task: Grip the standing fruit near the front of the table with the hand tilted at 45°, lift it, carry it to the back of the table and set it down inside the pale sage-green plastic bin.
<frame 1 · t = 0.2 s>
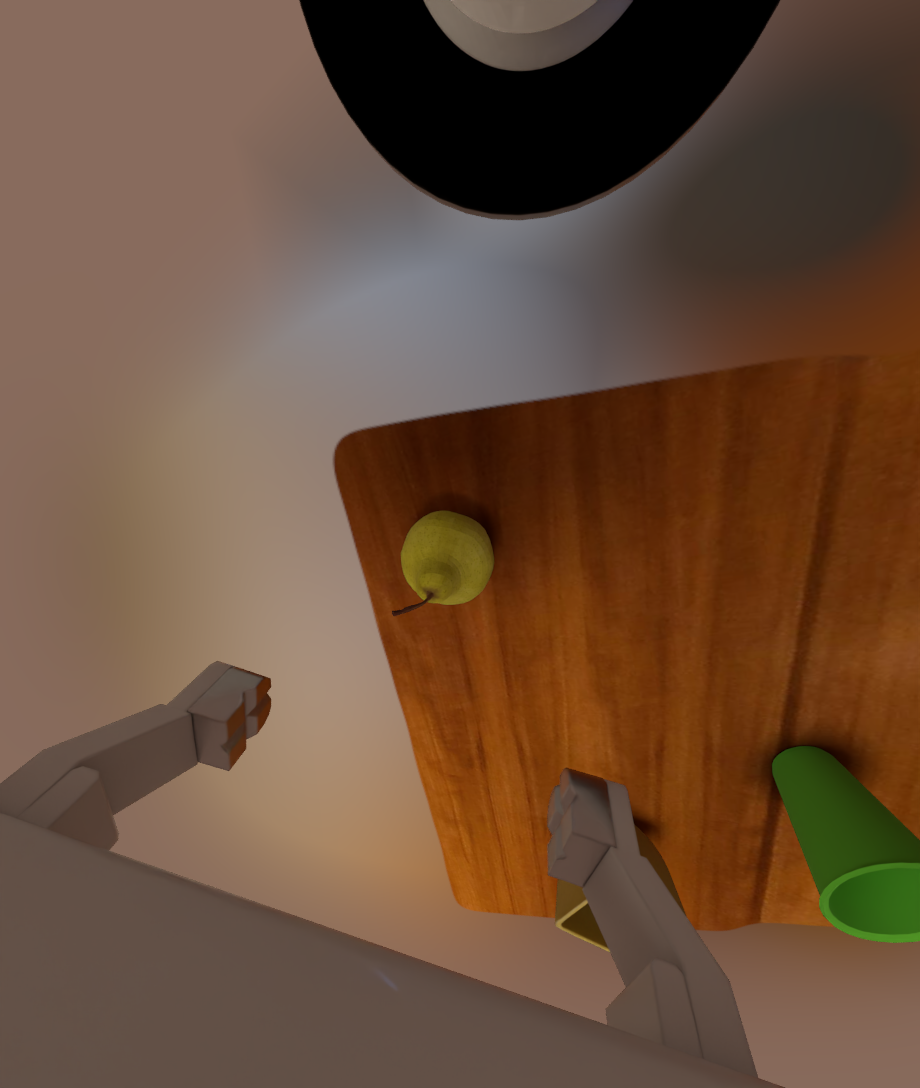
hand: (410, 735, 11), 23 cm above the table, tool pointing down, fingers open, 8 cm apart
flower pot: (603, 824, 46), on the table
fruit: (455, 538, 34), on the table
cup: (800, 762, 38), on the table
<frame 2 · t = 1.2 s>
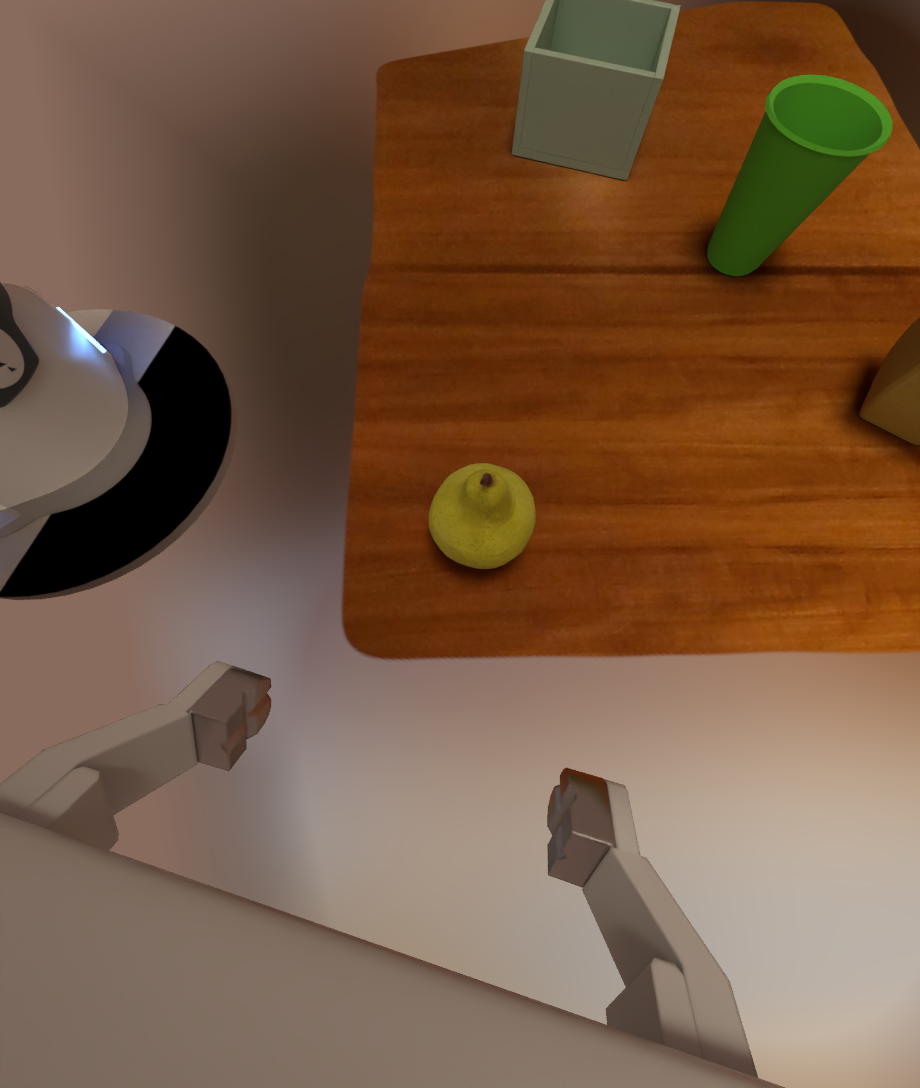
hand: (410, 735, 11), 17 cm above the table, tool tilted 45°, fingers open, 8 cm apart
bin: (580, 132, 46), on the table
flower pot: (890, 414, 35), on the table
fruit: (478, 535, 31), on the table
cup: (730, 259, 41), on the table
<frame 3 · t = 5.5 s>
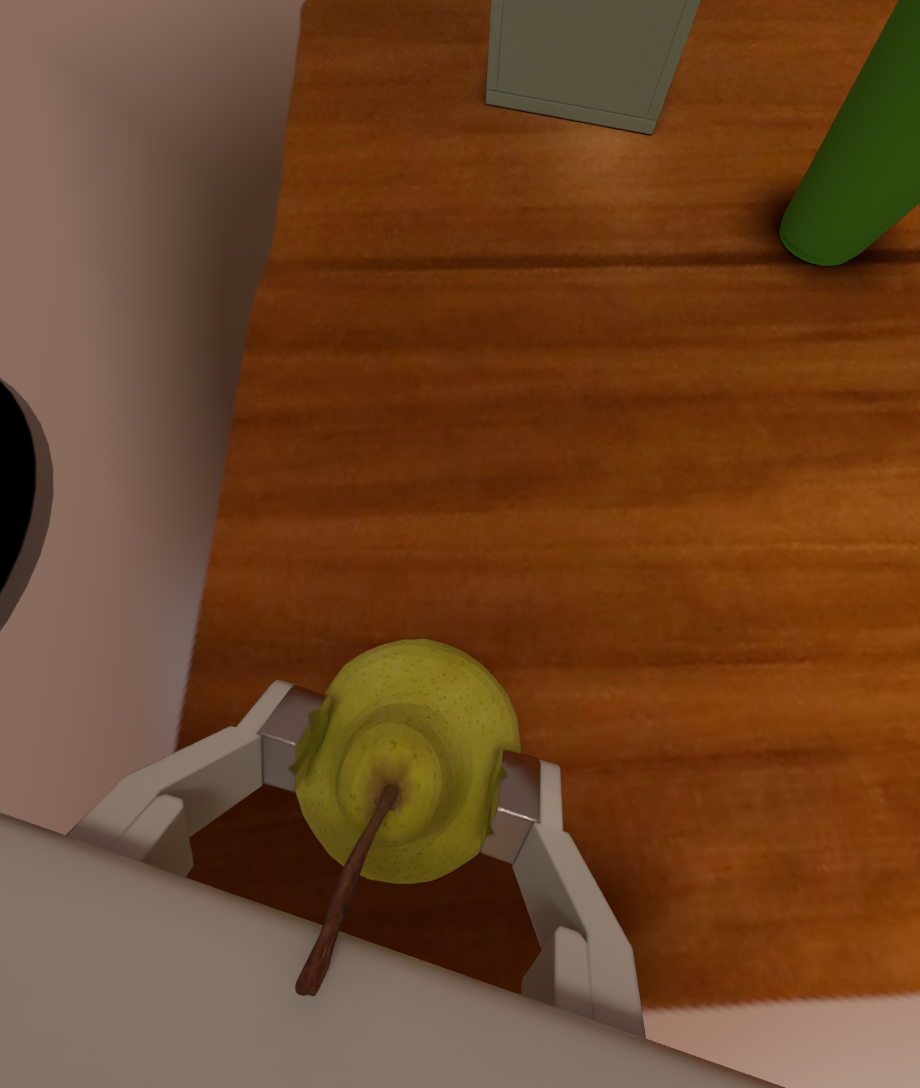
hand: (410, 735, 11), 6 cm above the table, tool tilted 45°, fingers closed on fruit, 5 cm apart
bin: (582, 73, 33), on the table
fruit: (420, 733, 17), on the table, touching gripper
cup: (814, 242, 27), on the table
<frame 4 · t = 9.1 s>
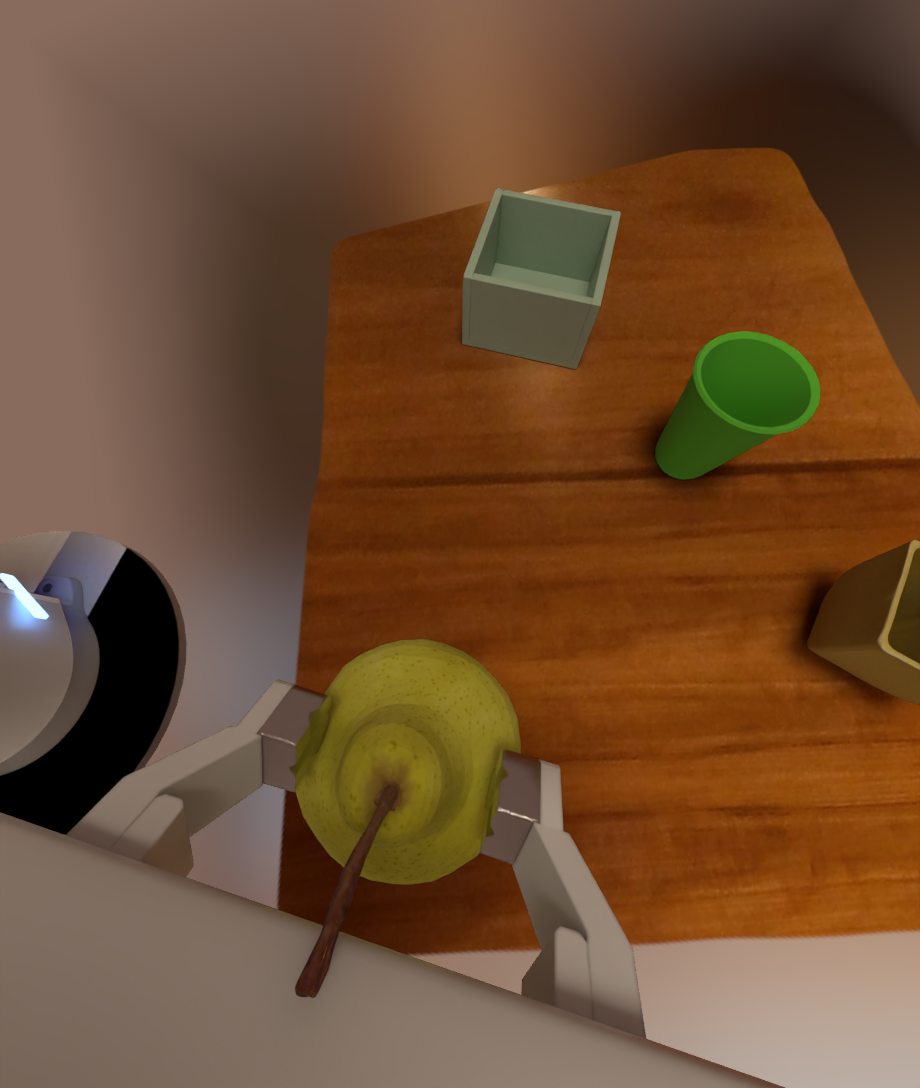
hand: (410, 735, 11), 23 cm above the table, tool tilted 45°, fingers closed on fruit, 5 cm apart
bin: (530, 313, 46), on the table
flower pot: (839, 639, 35), on the table
fruit: (420, 734, 17), point 17 cm above the table, touching gripper
cup: (678, 458, 41), on the table
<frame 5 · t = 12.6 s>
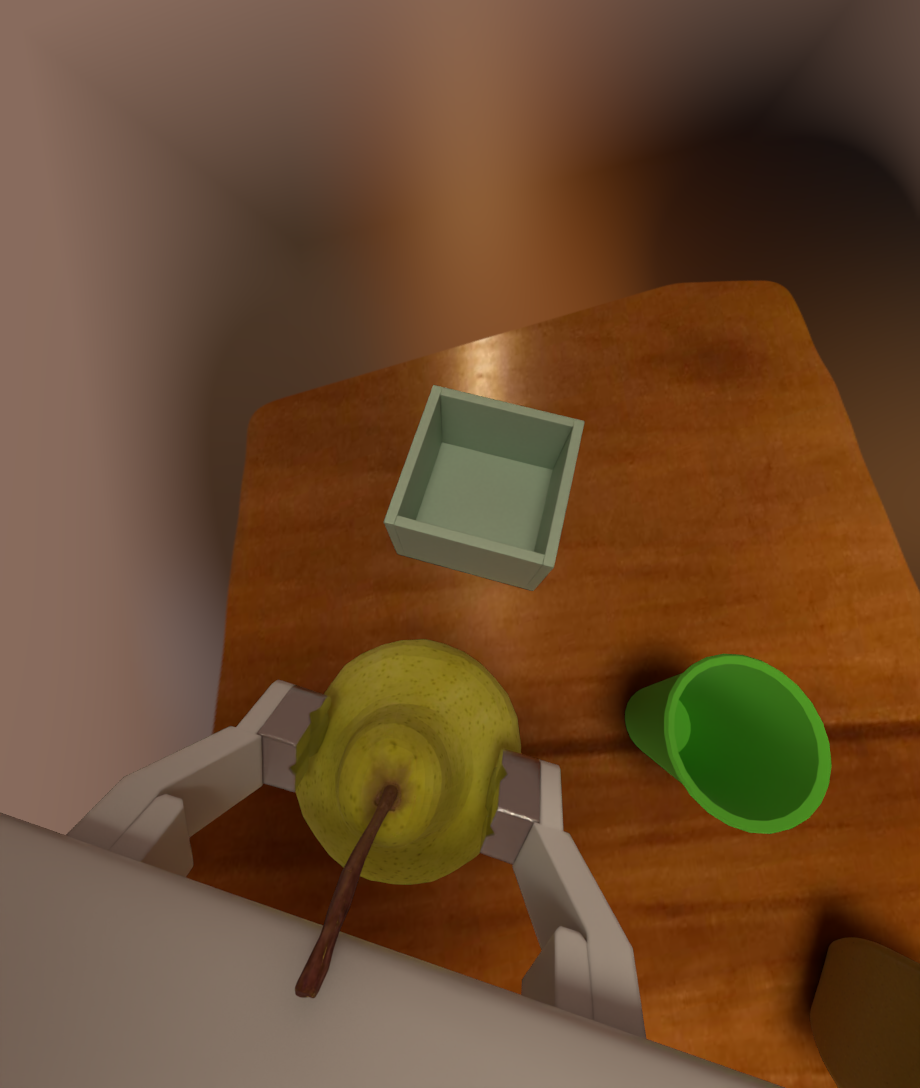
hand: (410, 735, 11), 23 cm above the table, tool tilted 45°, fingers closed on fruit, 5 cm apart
bin: (482, 509, 39), on the table
flower pot: (851, 1002, 28), on the table
fruit: (420, 734, 17), point 17 cm above the table, touching gripper
cup: (654, 720, 33), on the table
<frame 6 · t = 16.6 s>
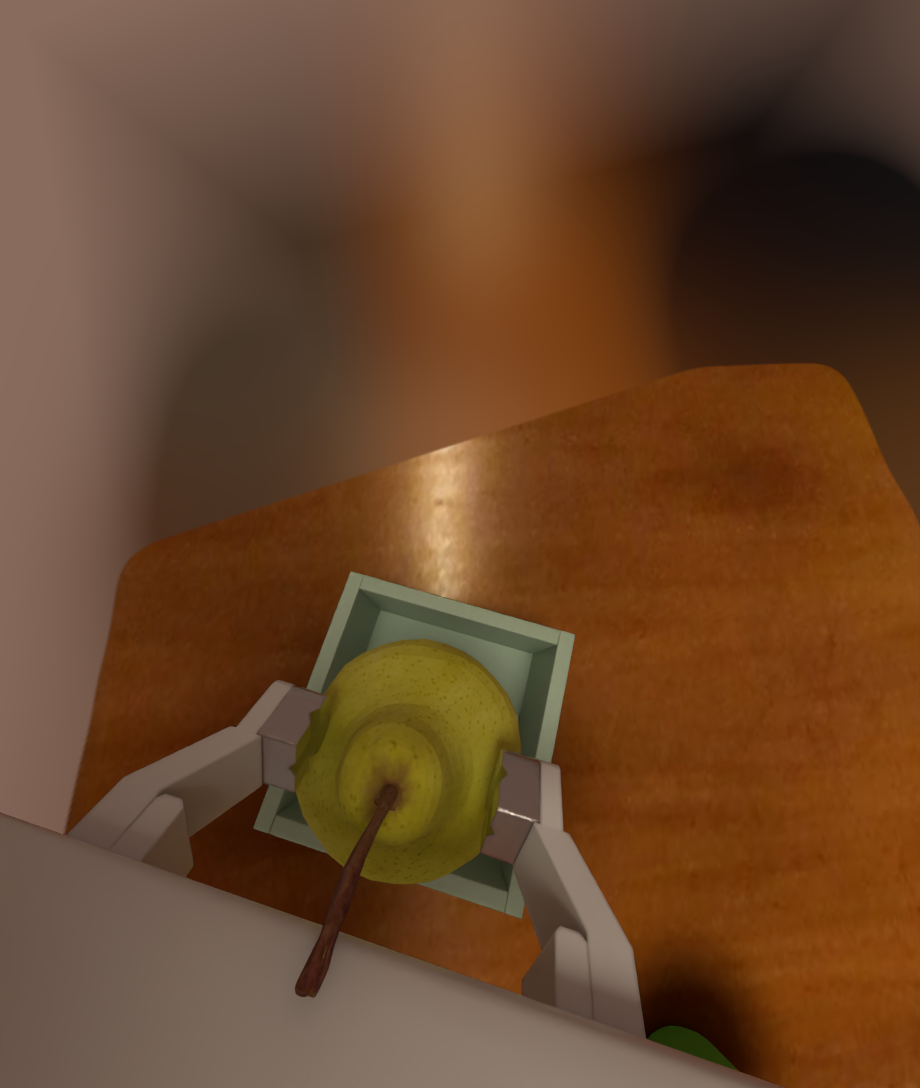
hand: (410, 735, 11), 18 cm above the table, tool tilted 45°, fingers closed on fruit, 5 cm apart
bin: (433, 713, 28), on the table
fruit: (421, 733, 17), point 11 cm above the table, touching gripper
cup: (678, 1082, 22), on the table
when the fingers open (7 cm above the table, at t = 20.0 s): fruit stays where it is, resting on bin.
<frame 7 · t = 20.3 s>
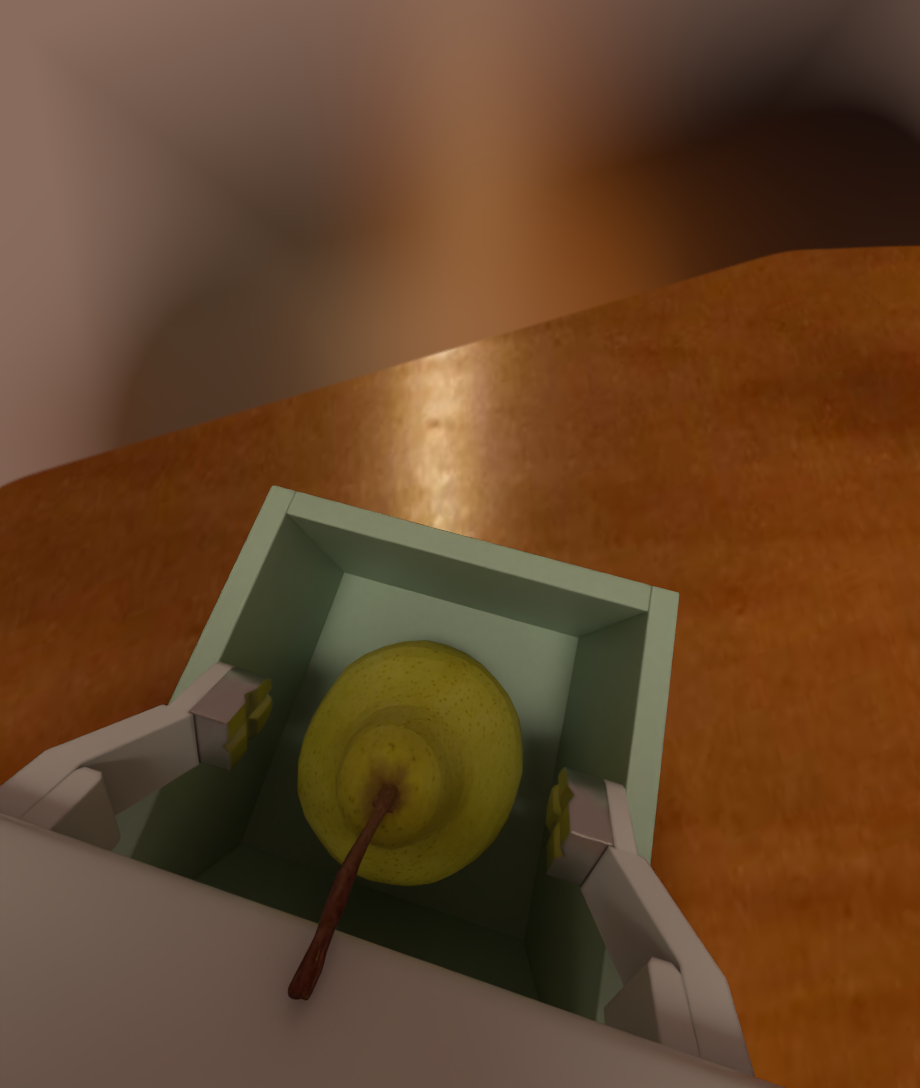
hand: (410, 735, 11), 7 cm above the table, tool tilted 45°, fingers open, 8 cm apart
bin: (424, 730, 18), on the table
fruit: (424, 735, 17), point 1 cm above the table, touching bin
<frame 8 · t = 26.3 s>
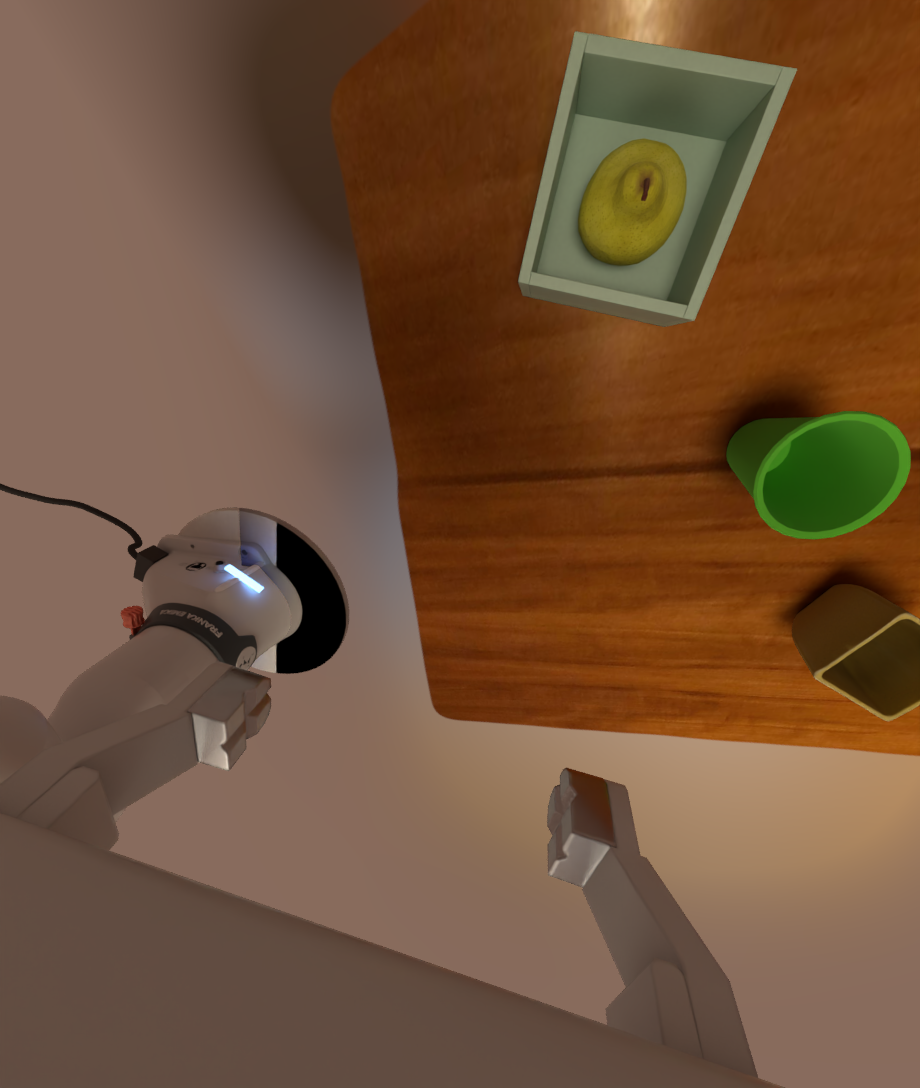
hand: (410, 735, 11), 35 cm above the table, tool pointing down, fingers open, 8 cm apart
bin: (619, 223, 33), on the table
flower pot: (830, 611, 43), on the table
fruit: (621, 222, 33), point 1 cm above the table, touching bin
cup: (755, 446, 38), on the table
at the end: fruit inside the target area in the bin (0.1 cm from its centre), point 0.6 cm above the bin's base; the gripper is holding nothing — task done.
